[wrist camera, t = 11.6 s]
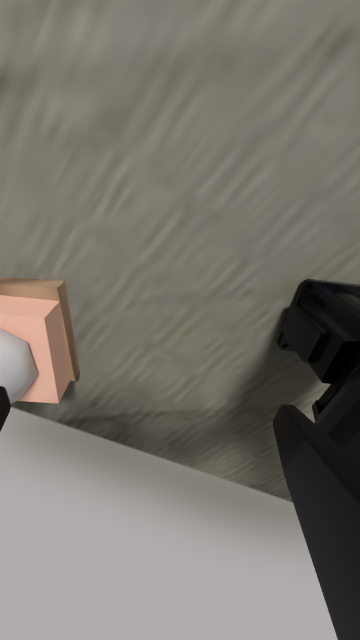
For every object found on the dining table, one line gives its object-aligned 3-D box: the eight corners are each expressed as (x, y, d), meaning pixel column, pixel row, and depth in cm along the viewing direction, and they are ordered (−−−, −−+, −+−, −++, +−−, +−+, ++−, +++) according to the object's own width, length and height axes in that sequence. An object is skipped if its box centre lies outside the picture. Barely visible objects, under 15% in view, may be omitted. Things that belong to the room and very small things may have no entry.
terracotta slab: (59, 301, 18) (44, 318, 16) (69, 381, 22) (58, 403, 20) (-59, 289, 17) (-93, 305, 15) (-26, 374, 21) (-49, 396, 19)
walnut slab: (69, 275, 19) (57, 288, 17) (83, 362, 24) (74, 381, 22) (-50, 268, 19) (-78, 280, 17) (-13, 358, 23) (-31, 377, 21)
